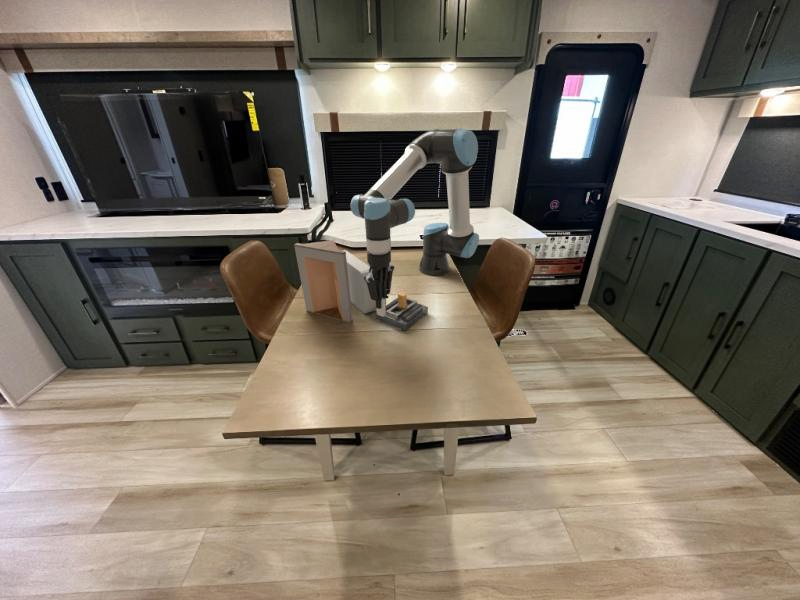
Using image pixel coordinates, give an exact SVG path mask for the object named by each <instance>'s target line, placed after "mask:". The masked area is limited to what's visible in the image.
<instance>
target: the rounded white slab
mask: <svg viewBox="0 0 800 600" xmlns="http://www.w3.org/2000/svg"><path fill="white" fill-rule="evenodd" d="M342 251H346V259H347V269H348V279H349V289H350V298H351V304H352V305H354V306H355V307H356V308H357V309H358V310H359V311H361V312H362V313H363V314H369V313H372V312H374V311H375V312H376V311H377V308H376V301H375V300H372V299H371V297H370V294H369V290H368V286H367V283H366V281H365V280H364V277H365V276H368V274H369V268H370V265H369V264H368V263H366V262H364V261H362V260H361V259H359V258H358V257H357V256H355V255H354V254H352V253H351V252H349V251H348V250H345V249H344V250H342Z"/></svg>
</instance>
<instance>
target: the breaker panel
mask: <svg viewBox="0 0 800 600" xmlns="http://www.w3.org/2000/svg"><path fill="white" fill-rule="evenodd" d="M396 299H397V298H395V299H394V300H396ZM394 300H392V301H390V302H389V303H388V304H390V303H391V302H393V301H394ZM388 304H387V303H386V305H388ZM417 304H419V303H418V301H417V300H415V299H412V298H408V297H407V307H406V308H404V309H403V310H402V311H399V310H397V307H398V303H397V304H396V305H394V306H393V307H392V308H390V309H389V310H387V311H386V315H385V316H384V317H382V316H380V315H377V311H375V313H374V314H375V320H376V321H380V322H382V323H383V324H387V325H389V326H392V327H393V328H396V329H399V330H402V332H403V331H404V332H407V331H408V330H409V329H410V328H412V327H413V326H415V324H417V322H419V321H421V320H422V319H423V318H424V317H425V316H427V315H428V313H429V306H426V305H423V304H421V305H422V307H423V310H422V311H420V312H419V313H418V314H417V315H415V316H414V317H413V318H411V319H410V320H409V321H405V320H402V315H404V314H405V313H407V312H408V311H409V310H411V309H412V308H413V307H415V306H416V305H417Z"/></svg>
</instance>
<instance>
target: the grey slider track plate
mask: <svg viewBox="0 0 800 600" xmlns="http://www.w3.org/2000/svg"><path fill="white" fill-rule="evenodd" d="M395 299H396V300H395ZM395 299H394V301H393V300H392V301H393V302H392V301H390V302H391V303H390V302H389V303H390V304H389V303H388V305H387V304H386V305H385V307H386V311H387V310H389V309H390V308H392V307H393V306H394V305H396V304H397V303H398V297H396V298H395ZM422 305H423V304H421V303H418V304H417V305H416V306H415V307H413V308H412V309H411V310H409V311H408V312H407V313H405V314H404V315H402V320H405V321H409V320H410V319H411V318H413V317H414V316H415V315H417V314H418V313H419V312H420V311H422V310H423V307H422Z"/></svg>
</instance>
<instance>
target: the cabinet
mask: <svg viewBox="0 0 800 600" xmlns="http://www.w3.org/2000/svg"><path fill="white" fill-rule="evenodd" d="M294 251H295V256H296V261H297V266H298V267H297V268H298V272H299V278H300V283H301V288H302V293H303V294H302V295H303V299H304V304H305V310H306V312H308V313H311V314H314V315H318V316H322V317H325V318H328V319H329V318H330V319H333V320H336V321H340V322H343V323H347V324H352V323H353V322H354V319H353V309H352V302H351V298H350V289H349V279H348V269H347V259H346V251H347V250H346V251H343V250H341V249H340V250H339V247H338V246H337V245H336V242H335V241H334V239H330V240H323V241H316V242H310V243H309V242H308V243H307V242H306V243H300V242H299V243H298V242H296V243H294Z"/></svg>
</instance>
